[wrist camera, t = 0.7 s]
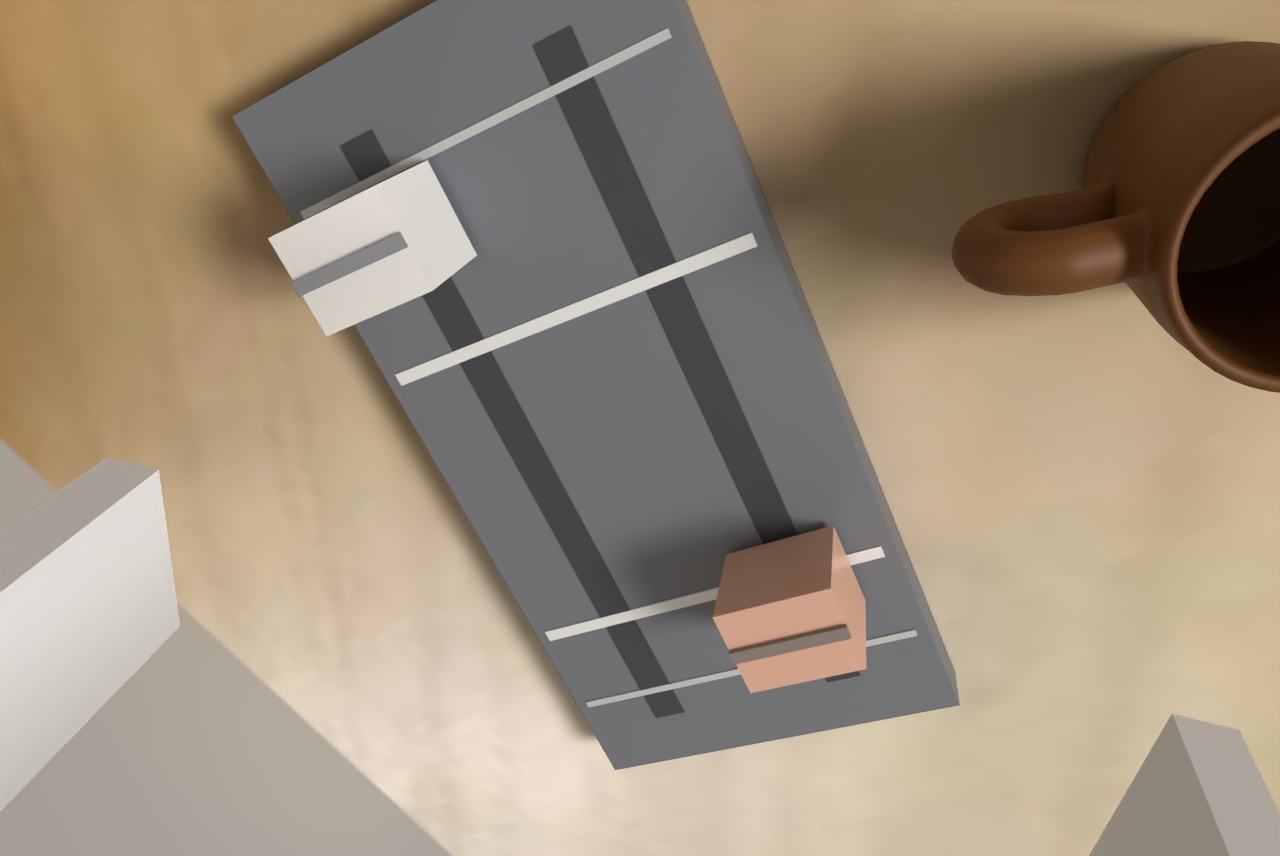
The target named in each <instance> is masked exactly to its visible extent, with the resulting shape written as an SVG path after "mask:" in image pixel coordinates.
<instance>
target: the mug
mask: <svg viewBox="0 0 1280 856" xmlns="http://www.w3.org/2000/svg"><path fill="white" fill-rule="evenodd" d="M952 258H953V262H954V265H955V267H956V268H957V269H958V271H959V272H960V274H961V275H962V276H963V278H964V279H965V280H966V281H967V282H969V283H971V284H973V285H975V286H977V287H979V288H981V289H983V290H985V291H988V292H993V293H998V294H1003V295H1020V296H1042V295H1060V294H1068V293H1075V292H1079V291H1084V290H1089V289H1093V288H1098V287H1103V286H1107V285H1112V284H1117V283H1121V282H1126V283H1127V285H1128V286H1129V287H1130V288H1131V290H1132V291H1133V292H1134V293H1135V295H1136V296H1137V297H1138V298H1139V300H1140V301H1141V302H1142V303H1143V305H1144V306H1145V307H1146V308H1147V309H1148V311H1149V312H1150V313H1151V314H1152V316H1153V317H1154V318H1155V319H1156V321H1157V322H1158V323H1159V324H1160V325H1161V326H1162V327H1163V328H1164V329H1165V330H1166V331H1167V332H1168V333H1169V334H1170V335H1171V336H1172V337H1173V338H1174V339H1175V340H1176V341H1177V342H1178V343H1180V344H1181V345H1182V346H1183V347H1185V348H1186V349H1187V350H1189V351H1190V352H1191V353H1192V354H1193V355H1194V356H1195V357H1196V358H1197V359H1198V360H1200V361H1201V362H1202V363H1204V364H1205V365H1207V366H1208V367H1209V368H1211V369H1212V370H1214V371H1215V372H1217V373H1219V374H1221V375H1223V376H1225V377H1226V378H1228V379H1230V380H1232V381H1235V382H1238V383H1241V384H1243V385H1246V386H1249V387H1253V388H1257V389H1261V390H1266V391H1270V392H1279V393H1280V44H1277V43H1270V42H1250V41H1246V42H1232V43H1224V44H1219V45H1214V46H1209V47H1206V48H1203V49H1200V50H1197V51H1194V52H1190V53H1188V54H1186V55H1183V56H1181V57H1179V58H1177V59H1174V60H1172V61H1170V62H1168V63H1167V64H1165V65H1163V66H1161V67H1160V68H1158V69H1156V70H1154V71H1153V72H1152V73H1150V74H1149V75H1147V76H1146V77H1145V78H1143V79H1142V80H1141V81H1139V82H1138V83H1137V84H1136V85H1135V86H1134V87H1133V88H1132V89H1130V90H1129V91H1128V92H1127V93H1126V94H1125V95H1124V96H1123V97H1122V98H1121V100H1120V101H1119V102H1118V103H1117V104H1116V105H1115V106H1114V107H1113V109H1112V110H1111V112H1110V113H1109V114H1108V116H1107V117H1106V119H1105V120H1104V122H1103V123H1102V125H1101V127H1100V129H1099V130H1098V132H1097V134H1096V136H1095V138H1094V140H1093V143H1092V146H1091V148H1090V151H1089V153H1088V157H1087V161H1086V165H1085V169H1084V178H1083V189H1081V190H1077V191H1073V192H1068V193H1063V194H1055V195H1047V196H1039V197H1033V198H1026V199H1021V200H1016V201H1011V202H1007V203H1004V204H1000V205H997V206H994V207H991V208H988V209H986V210H984V211H982V212H980V213H978V214H977V215H975V216H974V217H972V218H971V219H969V220H968V221H967V222H966V223H965V224H964V225H962V227H961V228H960V230H959V231H958V233H957V234H956V237H955V240H954V244H953V249H952Z"/></svg>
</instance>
